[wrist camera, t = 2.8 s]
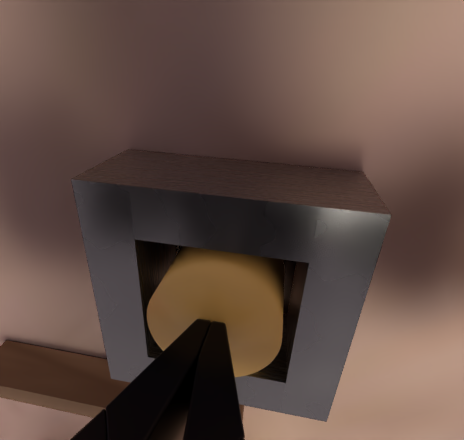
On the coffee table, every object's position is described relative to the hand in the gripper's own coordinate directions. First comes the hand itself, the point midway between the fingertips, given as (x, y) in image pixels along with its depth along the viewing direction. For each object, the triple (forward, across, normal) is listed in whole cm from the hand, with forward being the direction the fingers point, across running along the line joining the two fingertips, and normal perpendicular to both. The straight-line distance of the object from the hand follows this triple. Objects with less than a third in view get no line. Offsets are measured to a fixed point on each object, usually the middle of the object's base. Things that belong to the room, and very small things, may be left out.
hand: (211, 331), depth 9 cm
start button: (+3, 0, 0) cm, 3 cm away
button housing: (+4, 0, 0) cm, 4 cm away
